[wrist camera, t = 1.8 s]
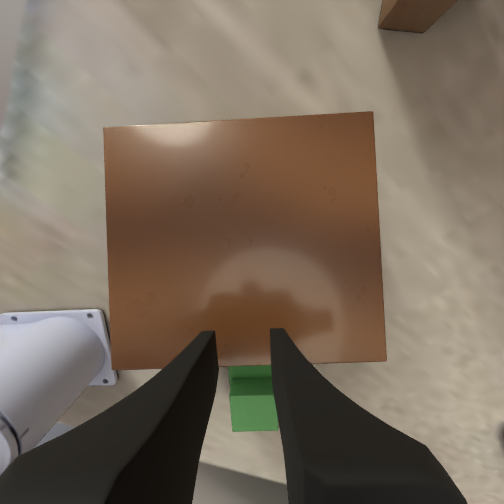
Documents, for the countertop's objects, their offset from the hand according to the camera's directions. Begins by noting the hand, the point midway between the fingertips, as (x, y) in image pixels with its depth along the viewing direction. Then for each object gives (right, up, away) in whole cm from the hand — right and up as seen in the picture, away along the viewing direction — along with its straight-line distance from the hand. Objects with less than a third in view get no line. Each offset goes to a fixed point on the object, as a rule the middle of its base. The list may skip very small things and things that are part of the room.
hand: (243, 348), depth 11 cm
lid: (0, +5, +3) cm, 6 cm away
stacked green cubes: (+1, -6, +12) cm, 14 cm away
